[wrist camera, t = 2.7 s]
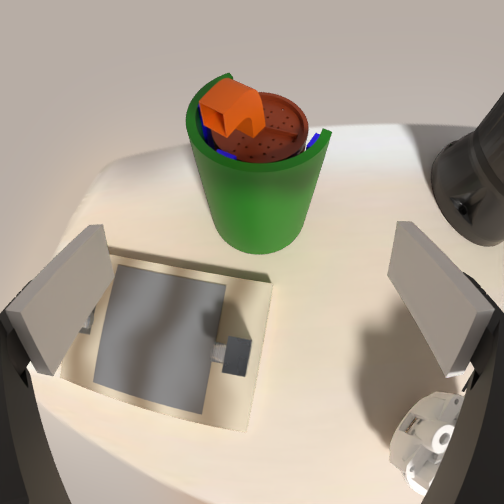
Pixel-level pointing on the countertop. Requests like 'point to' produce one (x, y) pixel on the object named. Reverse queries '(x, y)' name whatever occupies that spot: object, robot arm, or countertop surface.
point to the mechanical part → (424, 438)
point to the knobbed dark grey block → (88, 323)
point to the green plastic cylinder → (254, 163)
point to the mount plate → (172, 342)
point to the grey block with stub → (232, 355)
